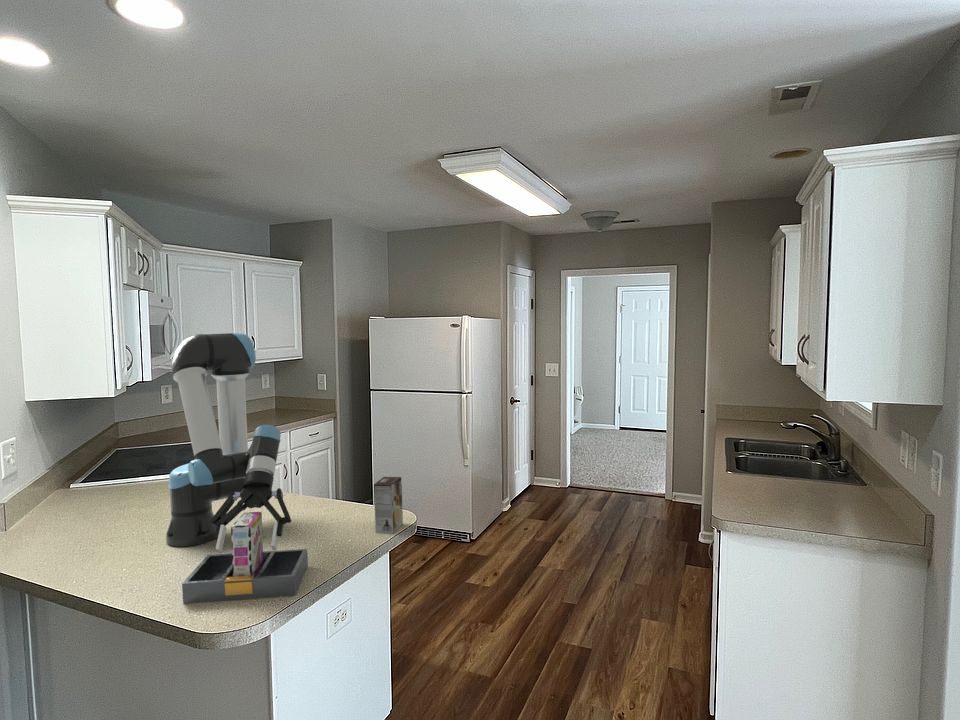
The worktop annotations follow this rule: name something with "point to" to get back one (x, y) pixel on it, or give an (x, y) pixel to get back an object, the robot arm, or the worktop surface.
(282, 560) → the bay rack
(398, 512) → the coffee box
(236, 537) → the candy bar box
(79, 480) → the worktop surface
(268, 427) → the robot arm
